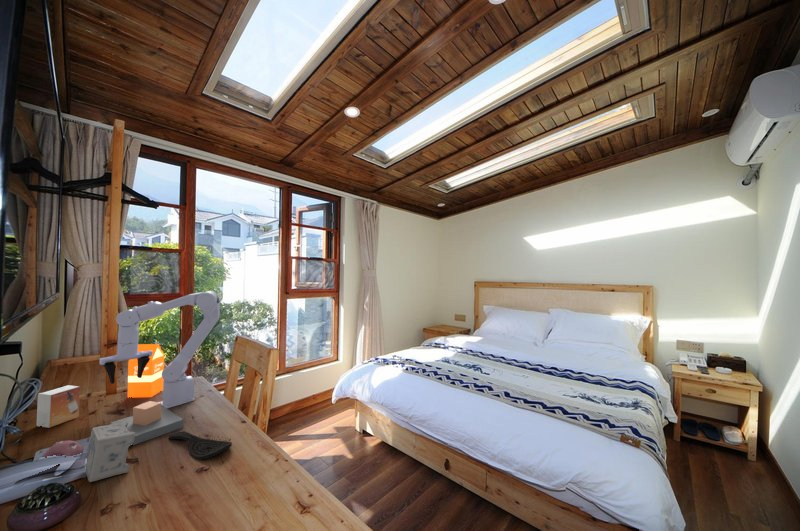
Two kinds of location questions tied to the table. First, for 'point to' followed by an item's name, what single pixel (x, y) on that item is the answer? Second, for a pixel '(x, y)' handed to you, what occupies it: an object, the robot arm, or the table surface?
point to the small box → (58, 406)
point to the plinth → (153, 426)
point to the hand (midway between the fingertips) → (126, 380)
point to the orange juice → (146, 373)
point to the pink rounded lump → (64, 449)
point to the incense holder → (108, 451)
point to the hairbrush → (201, 445)
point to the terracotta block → (146, 413)
